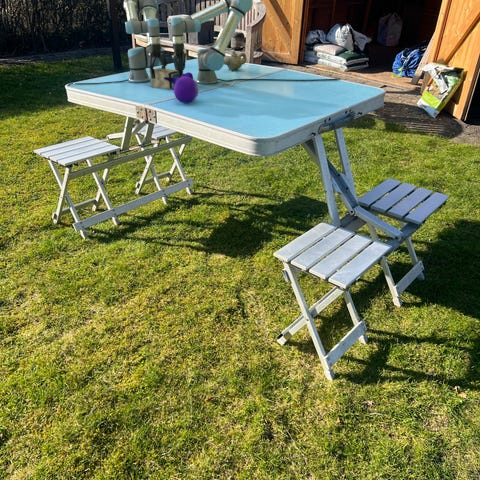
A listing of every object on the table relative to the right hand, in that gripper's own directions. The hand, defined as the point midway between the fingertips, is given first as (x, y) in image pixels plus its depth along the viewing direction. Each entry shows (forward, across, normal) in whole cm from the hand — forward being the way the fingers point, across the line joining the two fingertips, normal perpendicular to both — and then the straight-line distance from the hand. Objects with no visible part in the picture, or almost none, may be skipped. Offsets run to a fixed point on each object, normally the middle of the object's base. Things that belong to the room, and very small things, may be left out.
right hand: (180, 80), depth 309 cm
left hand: (0, 0, +21) cm, 21 cm away
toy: (+6, -26, -24) cm, 36 cm away
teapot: (+6, +77, +9) cm, 78 cm away
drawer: (+5, 0, +9) cm, 10 cm away
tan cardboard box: (+6, 0, +15) cm, 16 cm away
